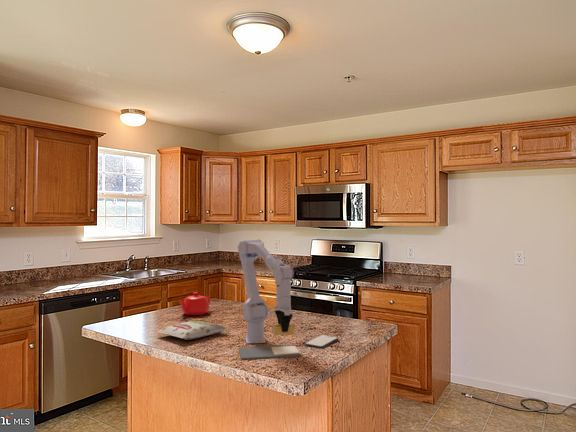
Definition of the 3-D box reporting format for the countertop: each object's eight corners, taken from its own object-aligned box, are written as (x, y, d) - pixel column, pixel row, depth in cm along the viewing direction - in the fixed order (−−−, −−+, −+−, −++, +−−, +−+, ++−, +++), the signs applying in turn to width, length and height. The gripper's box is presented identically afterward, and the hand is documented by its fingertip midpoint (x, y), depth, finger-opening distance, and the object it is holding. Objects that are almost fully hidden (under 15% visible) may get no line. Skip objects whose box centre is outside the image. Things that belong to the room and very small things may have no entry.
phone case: (322, 350, 171) (339, 340, 185) (322, 346, 171) (339, 337, 185) (303, 347, 176) (321, 337, 190) (303, 343, 176) (321, 334, 190)
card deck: (291, 331, 171) (291, 323, 171) (294, 334, 166) (294, 326, 166) (272, 332, 169) (272, 324, 169) (274, 335, 164) (274, 327, 164)
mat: (238, 348, 171) (238, 347, 171) (293, 346, 175) (293, 344, 175) (240, 359, 157) (240, 358, 157) (301, 356, 162) (301, 354, 162)
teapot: (199, 309, 251) (199, 288, 251) (219, 311, 243) (219, 290, 243) (167, 316, 230) (168, 294, 230) (188, 320, 222) (188, 297, 222)
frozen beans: (229, 321, 194) (183, 331, 175) (229, 333, 194) (183, 345, 175) (201, 316, 208) (156, 325, 189) (201, 328, 208) (156, 338, 189)
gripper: (270, 293, 174) (270, 326, 174) (277, 299, 160) (277, 335, 160) (287, 292, 176) (286, 325, 175) (295, 298, 161) (295, 334, 161)
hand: (283, 329), depth 168 cm, fingers closed on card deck, 5 cm apart
